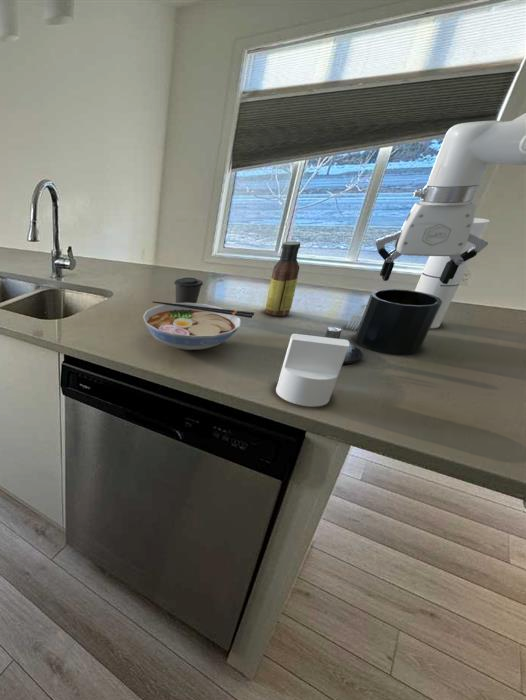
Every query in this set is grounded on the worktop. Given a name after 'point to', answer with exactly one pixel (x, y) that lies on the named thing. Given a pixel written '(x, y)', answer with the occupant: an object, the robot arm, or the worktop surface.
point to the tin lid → (352, 352)
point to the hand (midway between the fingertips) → (413, 280)
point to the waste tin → (397, 321)
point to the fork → (355, 319)
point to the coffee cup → (187, 290)
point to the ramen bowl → (192, 324)
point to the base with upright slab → (311, 369)
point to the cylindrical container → (435, 268)
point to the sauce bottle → (283, 281)
